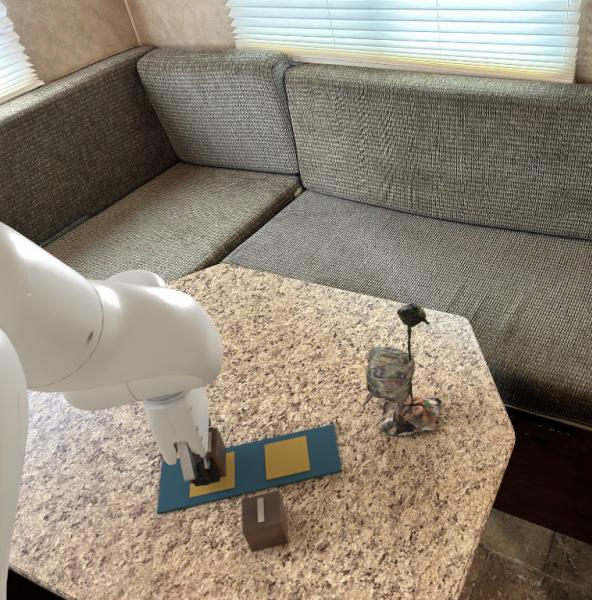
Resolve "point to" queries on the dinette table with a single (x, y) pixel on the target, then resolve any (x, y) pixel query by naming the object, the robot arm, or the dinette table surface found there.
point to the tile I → (264, 521)
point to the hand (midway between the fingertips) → (208, 464)
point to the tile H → (215, 452)
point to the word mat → (256, 468)
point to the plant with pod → (400, 383)
